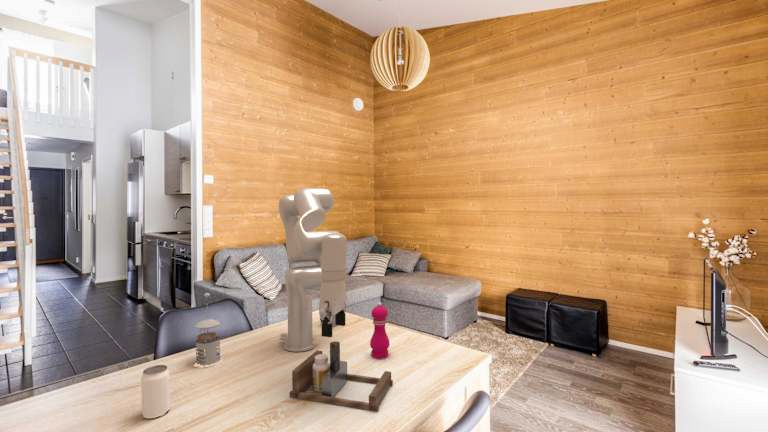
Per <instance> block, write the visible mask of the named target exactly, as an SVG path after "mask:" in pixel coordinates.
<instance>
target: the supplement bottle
mask: <svg viewBox="0 0 768 432" xmlns="http://www.w3.org/2000/svg"><path fill="white" fill-rule="evenodd" d="M329 370H330V361H329V356H328V354H325V353H324V354H323V353H322V354H319V355H316V356H315V363H314V364H313V385H312V389H313V390H314V391H315V392H321V393H322V377H323V376H324V375H325V374H326V373H327V372H328V371H329Z"/></svg>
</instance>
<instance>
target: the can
mask: <svg viewBox="0 0 768 432" xmlns="http://www.w3.org/2000/svg"><path fill="white" fill-rule="evenodd" d="M140 380H141V387H140V388H141V413H142V415H143V416H145V417H154V416H158V415H161V414H164V413H165V412H167V411H168V410H169V409H170V410H171V392H170V390H171V388H170V385H171V384H170V383H171V382H170V372H169V369H168V365H164V364H156V365H152V366H150V367H147V368H145V369H144V370H143V371H142V376H141V379H140ZM170 410H169V411H170ZM169 411H168V412H169ZM143 416H142V417H143Z"/></svg>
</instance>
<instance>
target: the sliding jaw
mask: <svg viewBox="0 0 768 432" xmlns="http://www.w3.org/2000/svg"><path fill="white" fill-rule="evenodd" d="M329 363H330V370H329V371H328V372H327V373H326V374H325V375H324V376H323V377H322V392H321V395H322V396H329V397H335V396H336V394H337V393H338V392H339V391H340V390H341V389H342V388H343V386H344V385H345V384H346V383H347V381H348V380H347V374H348V361H344V360H341V342H340V341H334V340H333V341H331V342H329Z"/></svg>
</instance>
